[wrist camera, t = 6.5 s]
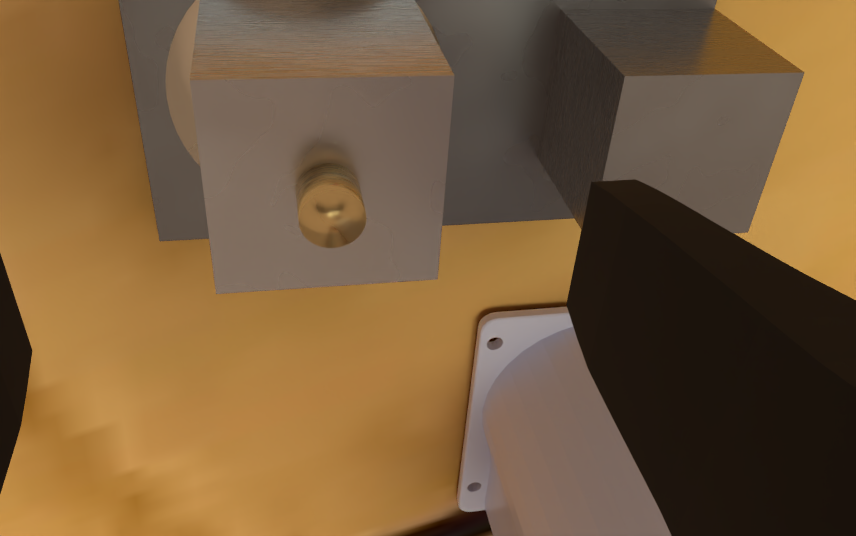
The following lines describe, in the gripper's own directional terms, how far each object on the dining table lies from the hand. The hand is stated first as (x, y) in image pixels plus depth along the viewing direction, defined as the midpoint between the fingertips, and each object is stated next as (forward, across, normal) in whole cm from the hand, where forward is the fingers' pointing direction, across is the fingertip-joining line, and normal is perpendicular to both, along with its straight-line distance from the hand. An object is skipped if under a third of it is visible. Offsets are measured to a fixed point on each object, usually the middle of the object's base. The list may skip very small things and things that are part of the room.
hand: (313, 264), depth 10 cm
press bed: (+10, -4, +2) cm, 11 cm away
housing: (+10, -1, +2) cm, 10 cm away
